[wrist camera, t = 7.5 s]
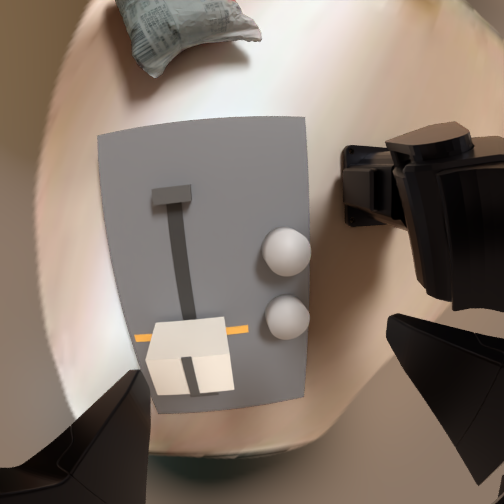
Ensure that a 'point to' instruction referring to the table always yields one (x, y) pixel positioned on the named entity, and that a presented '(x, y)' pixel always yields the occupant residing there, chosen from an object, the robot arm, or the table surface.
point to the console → (215, 245)
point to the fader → (190, 357)
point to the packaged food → (181, 28)
